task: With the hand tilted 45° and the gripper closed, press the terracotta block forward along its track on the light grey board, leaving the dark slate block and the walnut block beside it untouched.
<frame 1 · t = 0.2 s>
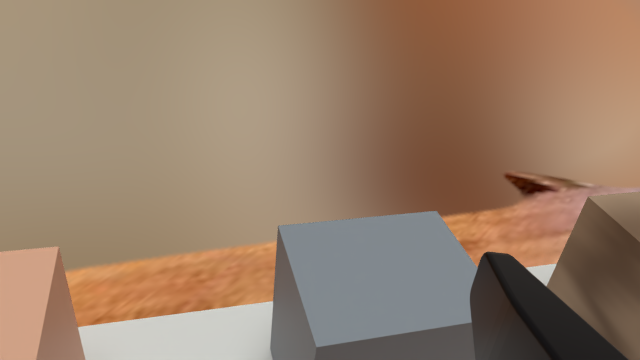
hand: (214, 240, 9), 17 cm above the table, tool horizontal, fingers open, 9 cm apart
dark slate block: (371, 334, 22), point 5 cm above the table, slide at 0.0 cm
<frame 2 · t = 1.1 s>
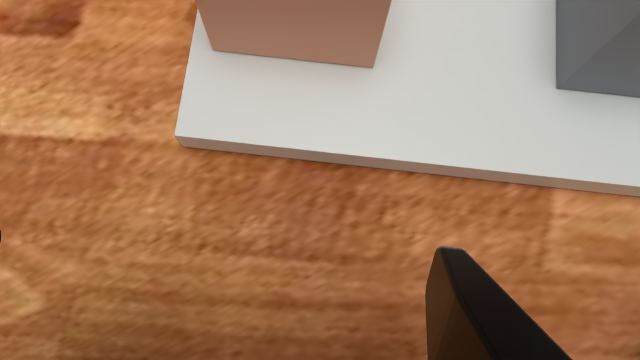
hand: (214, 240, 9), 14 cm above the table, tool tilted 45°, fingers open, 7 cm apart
grey base board: (614, 61, 25), on the table
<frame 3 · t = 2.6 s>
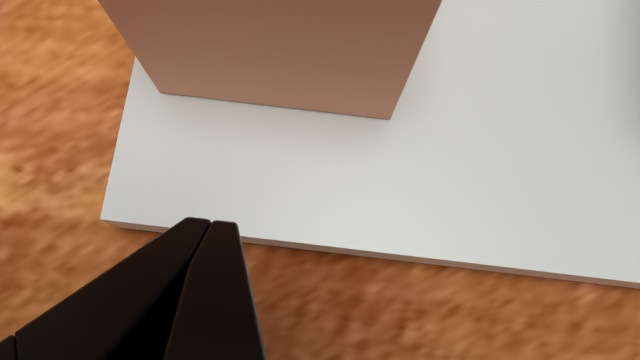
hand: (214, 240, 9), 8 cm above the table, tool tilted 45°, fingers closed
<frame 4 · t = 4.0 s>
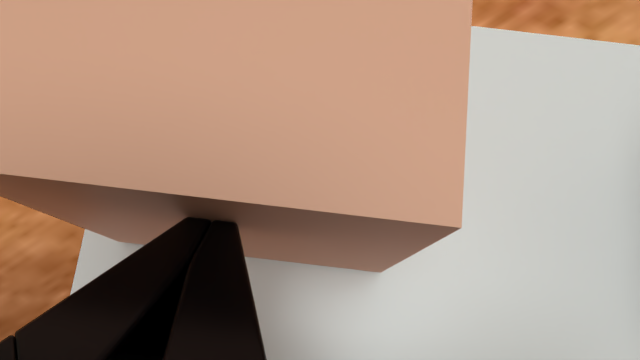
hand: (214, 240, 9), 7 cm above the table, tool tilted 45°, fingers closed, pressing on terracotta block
terracotta block: (252, 96, 11), point 5 cm above the table, slide at 1.3 cm, touching gripper
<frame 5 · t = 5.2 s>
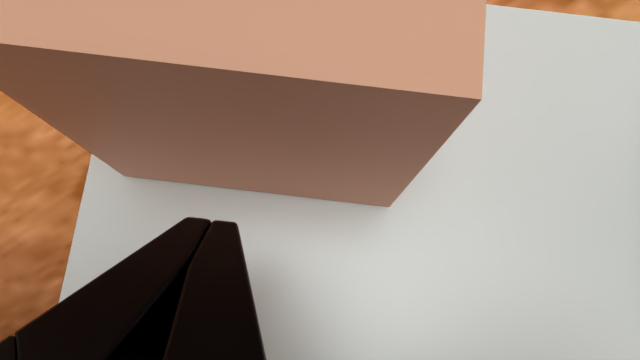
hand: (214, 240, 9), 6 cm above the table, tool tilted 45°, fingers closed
terracotta block: (260, 12, 11), point 5 cm above the table, slide at 2.7 cm
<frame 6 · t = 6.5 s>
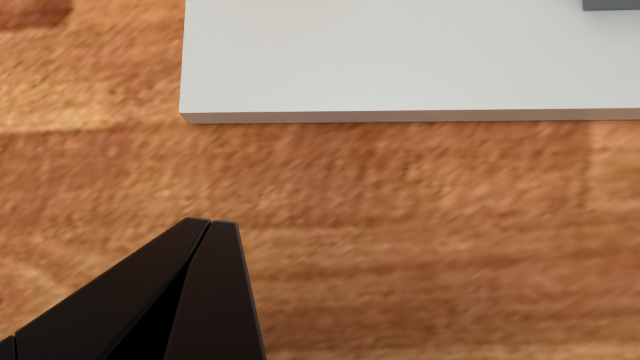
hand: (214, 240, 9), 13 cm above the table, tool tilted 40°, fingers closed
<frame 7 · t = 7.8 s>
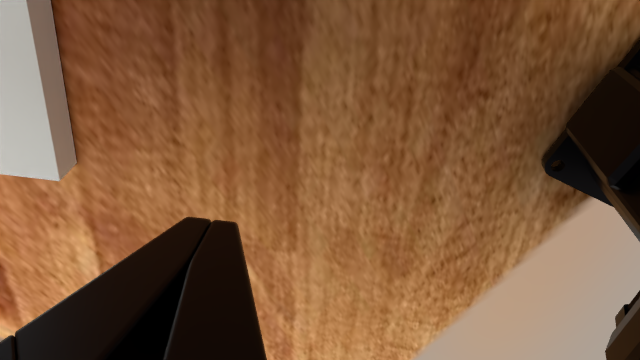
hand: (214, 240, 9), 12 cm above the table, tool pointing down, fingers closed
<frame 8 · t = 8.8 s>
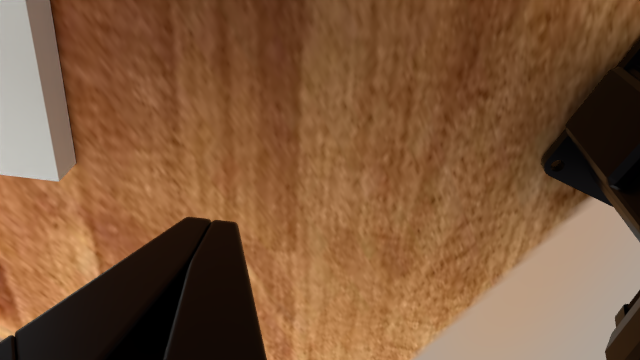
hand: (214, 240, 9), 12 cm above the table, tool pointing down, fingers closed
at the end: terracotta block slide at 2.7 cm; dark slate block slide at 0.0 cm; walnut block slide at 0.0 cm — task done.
